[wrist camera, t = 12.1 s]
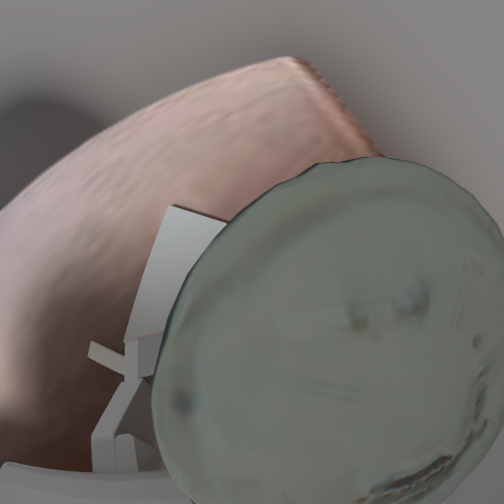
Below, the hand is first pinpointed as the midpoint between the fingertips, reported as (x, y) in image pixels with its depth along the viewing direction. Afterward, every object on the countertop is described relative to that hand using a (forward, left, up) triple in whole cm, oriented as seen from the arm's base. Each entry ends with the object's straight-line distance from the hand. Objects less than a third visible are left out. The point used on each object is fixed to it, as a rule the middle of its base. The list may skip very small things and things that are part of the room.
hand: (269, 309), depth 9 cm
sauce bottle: (0, -1, -12) cm, 13 cm away
